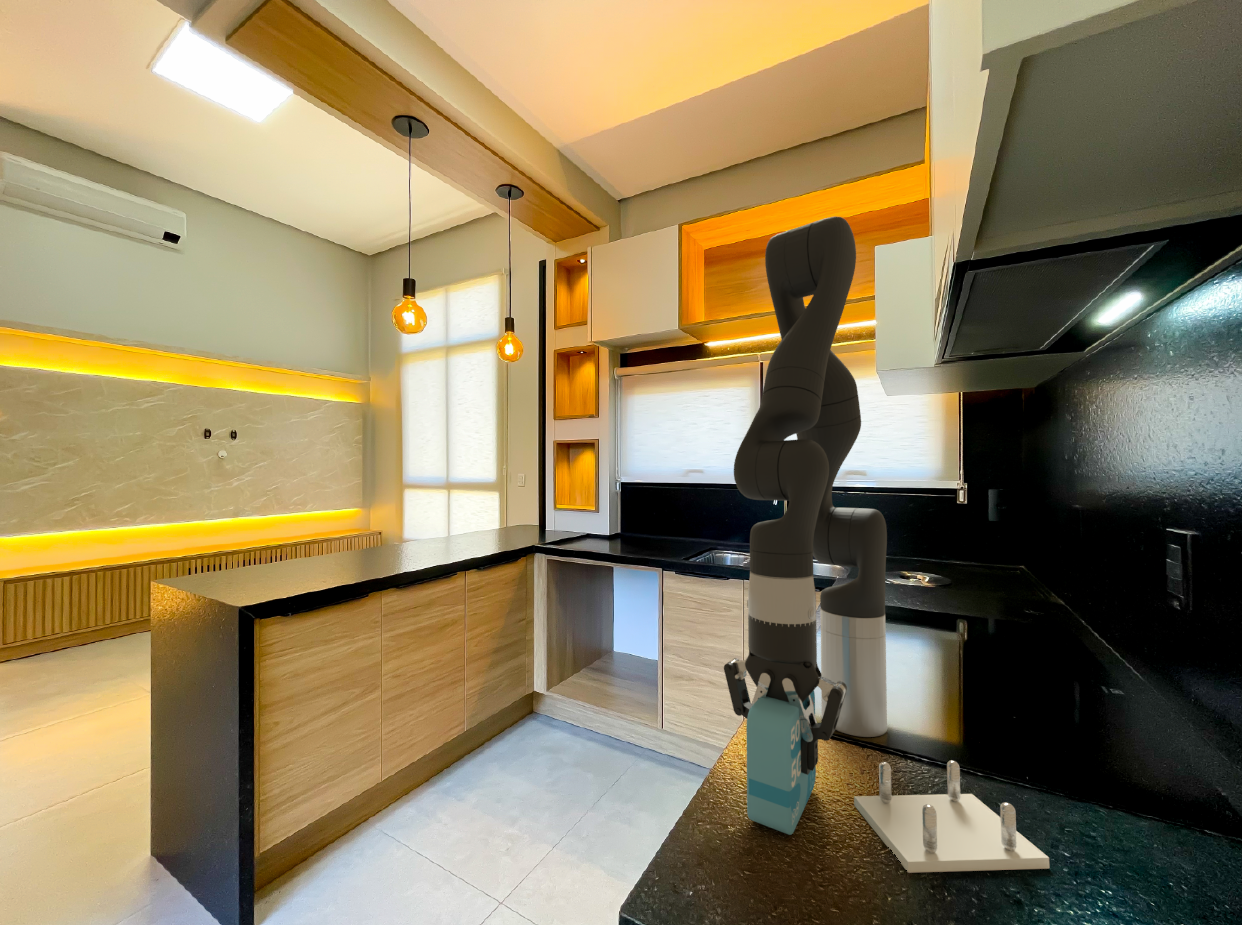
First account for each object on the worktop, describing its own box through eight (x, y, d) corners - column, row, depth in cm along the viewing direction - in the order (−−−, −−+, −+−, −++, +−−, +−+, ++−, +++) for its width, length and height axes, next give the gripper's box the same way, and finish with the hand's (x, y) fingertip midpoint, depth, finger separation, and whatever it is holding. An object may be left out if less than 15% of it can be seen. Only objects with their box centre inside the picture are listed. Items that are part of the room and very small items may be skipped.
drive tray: (854, 805, 57) (854, 796, 58) (971, 802, 58) (971, 793, 58) (908, 872, 47) (907, 861, 48) (1049, 868, 48) (1049, 857, 48)
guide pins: (877, 799, 57) (876, 759, 57) (955, 797, 57) (954, 758, 58) (928, 856, 48) (927, 809, 48) (1019, 853, 49) (1018, 807, 49)
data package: (789, 842, 51) (788, 722, 51) (746, 825, 53) (745, 711, 54) (816, 783, 61) (815, 683, 61) (779, 771, 63) (778, 675, 64)
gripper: (855, 615, 57) (857, 769, 56) (736, 597, 65) (737, 731, 64) (839, 631, 51) (842, 803, 50) (710, 609, 59) (711, 756, 58)
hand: (783, 762), depth 57 cm, fingers closed on data package, 4 cm apart
